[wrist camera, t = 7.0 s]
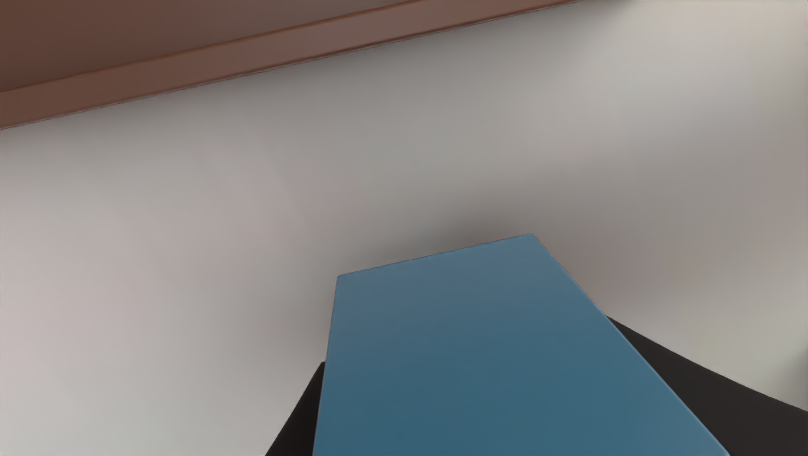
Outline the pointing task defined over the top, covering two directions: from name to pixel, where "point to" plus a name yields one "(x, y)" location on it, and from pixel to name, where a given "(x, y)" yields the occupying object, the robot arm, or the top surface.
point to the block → (490, 365)
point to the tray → (194, 43)
